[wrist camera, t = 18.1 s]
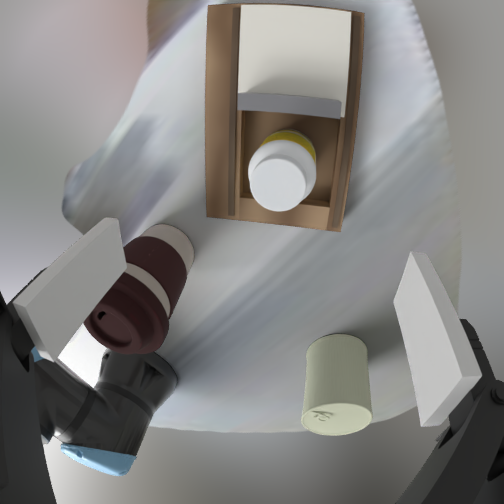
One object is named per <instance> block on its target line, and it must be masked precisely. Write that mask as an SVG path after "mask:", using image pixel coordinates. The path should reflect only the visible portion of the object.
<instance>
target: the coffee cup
mask: <svg viewBox="0 0 504 504" xmlns="http://www.w3.org/2000/svg"><path fill="white" fill-rule="evenodd" d="M123 250H124V255H125V260H126V265H127V268H126V270H125V271H124V272H123V273H122V274H121V276H120V277H119V278H118V279H117V280H116V282H115V283H114V284H113V285H112V287H111V288H110V289H109V290H108V291H107V293H106V294H105V295H104V296H103V298H102V299H101V300H100V301H99V303H98V304H97V305H96V306H95V308H94V309H93V310H92V312H91V313H90V314H89V315H88V317H87V318H86V319H85V321H84V322H83V323H84V325H85V327H86V328H87V330H88V331H89V333H90V334H91V335H92V336H93V337H94V338H95V339H96V340H97V341H98V342H99V343H101V344H102V345H104V346H105V347H107V348H108V349H110V350H112V351H115V352H118V353H121V354H134V353H136V354H147V353H151V352H154V351H156V350H157V349H158V348H160V346H161V345H162V343H163V342H164V340H165V338H166V336H167V333H168V330H169V319H170V317H171V315H172V313H173V311H174V308H175V306H176V304H177V301H178V299H179V297H180V295H181V292H182V290H183V288H184V286H185V283H186V279H187V275H188V272H189V270H190V268H191V266H192V264H193V260H194V250H193V246H192V244H191V242H190V240H189V239H188V237H187V236H186V235H185V234H184V233H183V232H182V231H180V230H179V229H177V228H175V227H173V226H170V225H165V224H159V225H154V226H152V227H150V228H149V229H147V230H146V231H145V232H144V233H143V234H141V235H140V236H139V237H138V238H135V239H133V240H132V241H131V242H129V243H128V244H127V245H126V246H125V247H123Z"/></svg>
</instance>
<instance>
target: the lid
mask: <svg viewBox="0 0 504 504" xmlns="http://www.w3.org/2000/svg"><path fill="white" fill-rule="evenodd" d="M350 32H351V12H347V11H340V10H333V9H325V8H315V7H304V6H289V5H241V20H240V46H239V74H238V107H237V110H247V111H266V112H280V113H292V114H302V115H311V116H320V117H328V118H335V119H340V117H344V116H345V106H346V95H347V83H348V69H349V53H350Z"/></svg>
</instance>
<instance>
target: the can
mask: <svg viewBox="0 0 504 504" xmlns="http://www.w3.org/2000/svg"><path fill="white" fill-rule="evenodd" d="M367 353H368V352H367V347H366V345H365V344H364V342H362V341H361V340H360V339H359V338H357V337H354V336H351V335H347V334H333V335H328V336H324V337H322V338H320V339H318V340H316V341H315V342H313V343H312V344H311V345H310V347H309V348H308V350H307V354H306V359H307V370H306V383H305V395H304V405H303V413H302V418H301V422H302V425H303V426H304V427H305V428H306V429H308V430H309V431H311V432H314V433H317V434H321V435H334V436H335V435H345V434H350V433H353V432H356V431H359V430H361V429H363V428H365V427H366V426H367V425H368V424H369V423H370V422H371V421H372V418H373V414H372V407H371V396H370V385H369V373H368V362H367Z"/></svg>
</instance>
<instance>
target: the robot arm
mask: <svg viewBox="0 0 504 504" xmlns="http://www.w3.org/2000/svg"><path fill="white" fill-rule="evenodd" d="M126 268H127V265H126V260H125V255H124V250H123V244H122V239H121V233H120V227H119V221H118V218H106V217H105V218H104V219H103V220H101V221H100V222H99V223H98V224H97V225H95V226H94V227H93V228H92V229H91V230H89V231H88V232H87V233H86V234H85V235H83V236H82V237H81V238H80V239H79V240H78V241H76V242H75V243H74V244H73V245H72V246H71V247H70V248H68V249H67V250H66V251H65V252H64V253H63V254H62V255H61V256H60V257H59V258H57V259H56V260H55V261H54V262H53V263H52V264H51V265H50V266H49V267H47V268H45V269H44V270H42V271H40V272H39V273H38V274H37V275H36V276H35V277H34V279H33V280H31V281H30V282H29V283H28V285H26V286H25V287H24V288H23V289H22V290H21V291H20V292H19V293H18V294H17V295H16V296H15V297H14V298H13V299H12V300H11V301H10V302H9V303H8V304H7V305H6V303H5V301H4V298H3V296H2V294H1V292H0V504H57V503H56V499H55V496H54V492H53V489H52V485H51V481H50V477H49V472H48V468H47V464H46V459H45V454H44V448H43V444H48V443H49V442H50V440H51V438H52V436H54V437H56V438H57V439H59V440H60V441H61V442H62V443H63V444H61V451H62V452H63V453H64V454H66V455H67V456H69V457H70V458H72V459H74V460H76V461H78V462H80V463H82V464H84V465H86V466H89V467H91V468H93V469H96V470H98V471H101V472H104V473H107V474H111V475H115V476H123V475H125V474H127V473H128V471H129V470H130V468H131V465H132V464H133V462H134V460H135V459H136V455H137V453H138V450H139V448H140V446H141V443H142V441H143V438H144V436H145V433H146V431H147V428H148V426H149V424H150V421H151V419H152V416H153V414H154V413H155V411H156V410H157V409H158V408H159V407H160V406H161V405H162V404H163V403H164V402H165V401H166V400H167V399H168V398H169V397H170V396H171V395H172V393H173V391H174V389H175V387H176V384H177V377H176V374H175V372H174V371H173V369H172V368H171V367H170V365H169V364H168V363H167V362H166V361H165V360H163V359H162V358H161V357H160V356H158V355H157V354H155V353H154V352H151V353H147V354H136V353H134V354H121V353H118V352H115V351H112V350H110V349H108V348H107V349H106V351H105V352H104V354H103V358H102V362H101V368H100V373H99V378H98V382H97V384H96V386H95V387H94V388H92V387H91V386H90V385H89V384H87V383H86V382H85V381H84V380H83V379H81V378H80V377H79V376H78V375H77V374H75V373H74V372H73V371H72V370H71V369H69V368H68V367H67V366H66V365H65V364H64V363H63V362H62V361H60V360H59V359H58V358H57V357H58V356H59V354H60V353H61V352H62V350H63V349H64V347H65V346H66V345H67V343H68V342H69V341H70V339H71V338H72V337H73V335H74V334H75V333H76V331H77V330H78V329H79V327H80V326H81V325H82V323H83V322H84V321H85V319H86V318H87V317H88V315H89V314H90V313H91V312H92V310H93V309H94V308H95V306H96V305H97V304H98V303H99V301H100V300H101V299H102V298H103V296H104V295H105V294H106V293H107V291H108V290H109V289H110V288H111V287H112V285H113V284H114V283H115V282H116V280H117V279H118V278H119V277H120V276H121V274H122V273H123V272H124V271H125V270H126ZM393 303H394V306H395V310H396V313H397V317H398V321H399V324H400V328H401V332H402V336H403V340H404V344H405V348H406V352H407V357H408V361H409V365H410V370H411V375H412V379H413V384H414V389H415V394H416V400H417V405H418V411H419V417H420V423H421V427H426V426H437V425H441V423H442V422H443V421H444V420H445V419H446V418H447V417H448V416H449V421H450V426H449V427H448V428H447V429H446V430H445V431H444V432H443V433H442V434H441V435H440V436H439V437H438V438H437V439H436V441H439V442H438V444H437V445H436V447H435V448H434V450H433V452H432V453H431V455H430V456H429V458H428V459H427V461H426V463H425V464H424V465H423V467H422V468H421V470H420V471H419V473H418V474H417V475H416V477H415V478H414V480H413V481H412V482H411V484H410V485H409V486H408V488H407V489H406V490H405V492H404V493H403V494H402V496H401V497H400V498H399V499H398V500H397V502H396V503H395V504H504V382H502V381H499V380H496V379H495V377H494V374H493V372H492V369H491V366H490V364H489V361H488V359H487V357H486V354H485V352H484V350H483V347H482V345H481V342H480V341H479V338H478V336H477V333H476V331H475V329H474V328H473V327H472V325H471V324H470V323H469V322H468V321H467V320H466V319H459V317H458V315H457V313H456V311H455V309H454V307H453V305H452V302H451V300H450V298H449V296H448V294H447V292H446V290H445V288H444V286H443V284H442V282H441V280H440V279H439V277H438V275H437V273H436V271H435V269H434V267H433V265H432V264H431V262H430V260H429V258H428V256H427V254H426V253H420V252H413V251H410V254H409V258H408V261H407V264H406V267H405V270H404V273H403V276H402V279H401V282H400V284H399V287H398V290H397V293H396V296H395V298H394V301H393Z"/></svg>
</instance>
